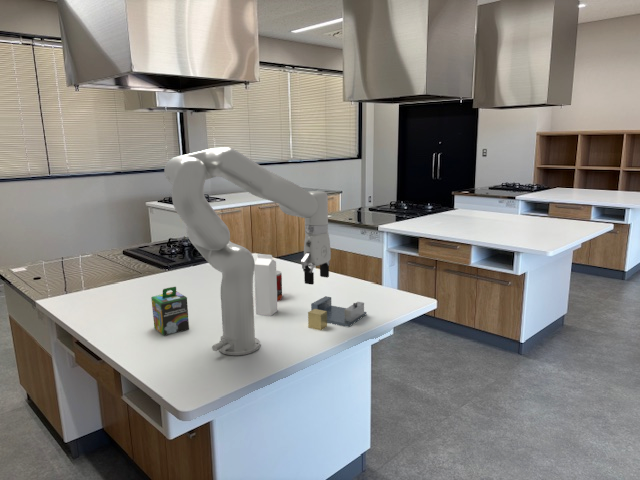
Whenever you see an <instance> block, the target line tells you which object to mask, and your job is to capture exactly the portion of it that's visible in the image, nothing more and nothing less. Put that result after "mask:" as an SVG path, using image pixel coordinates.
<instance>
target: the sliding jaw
mask: <svg viewBox="0 0 640 480" xmlns="http://www.w3.org/2000/svg"><path fill="white" fill-rule="evenodd" d="M364 312H365V302H362V301H357V302H356V301H355V302H353V304H352V305H350V306H348V307H347V309H345V321H348V322H352V321H353V320H355V319H356V318H358V317H359V316H361V315H362V314H364Z"/></svg>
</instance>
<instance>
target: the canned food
mask: <svg viewBox="0 0 640 480" xmlns="http://www.w3.org/2000/svg"><path fill="white" fill-rule="evenodd" d="M276 277H277V302H279V301H281V300H282V298H283V275H282V271H280V270H277V269H276Z"/></svg>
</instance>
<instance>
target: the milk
mask: <svg viewBox="0 0 640 480" xmlns="http://www.w3.org/2000/svg"><path fill="white" fill-rule="evenodd" d="M254 262H255V268H254V275H253V277H254V297H255V298H254V300H255V314H256V315H260V316H268V317H269V316H270V317H272V315H274V314H276V313H277V312H278V301H277V277H276V270H277V261H276V260H274V259H273V254H264V253H258V254H257V258H256V260H255V261H254Z"/></svg>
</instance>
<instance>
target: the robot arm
mask: <svg viewBox="0 0 640 480" xmlns="http://www.w3.org/2000/svg"><path fill="white" fill-rule="evenodd" d="M164 175H165V179H166V180H167V182H169V184H171V185H172V187H171V199H172V200H171V201H172V204H173V207H174V209H175V212H176V213H177V215H178V216H179V218H180V219H181V220H182V221H183V223H184V224H185V226H186V235H187V238H188V240H189V241H190V243H191V244H192V246H193V247H194V248H195V249H196V250H197V251H198V252H199V254H200V255H201V256H202V257H203V258H204V260H206V262H207V264H209V265H210V266H211V267H212V268H214V270H217V272H219V273H221V274H222V276H221V281H220V306H221V325H222V336H220V340H219V342H216V343H215V344H213V345H212V346H211V349H212V351H213V352H218V351H219V352H220V353H221V354H224V355H227V356H244V355H248V354H252V353H254V352H256V351H257V350H259V348H260V347H261V340H260V339H259V338H257V337H256V334H255V333H256V332H255V330H256V329H255V309H254V308H255V305H254V287H253V286H254V268H255V262H256V261H255V259H254V255H253V253H252V252H251V251H250V250H249V249H248V248H246V247H244V246H242V245H239V244H237V243H234V242H232V241H231V233H230V229H229V227H228V225H227V224H226V223H225V222H224V221H223V219H222V218H221V216H219V215H218V214H217V212H216V210H214V209H213V207H212V206H211V204H210V203H209V202H208V200H207V199H206V196H205V192H204V191H205V189H204V188H205V183H206V181H207V180H210V179H214V178H216V177H220V178H223V179H225V180H227V181H228V182H230V183H232V184H233V185H235V186H237V187H239V188H240V189H242V190H245V192H248V194H251V195H253V196H255V197H257V198H260V199H262V200H263V199H264V200H267V201H270V202H273V203H276V204H278V207H279V209H280V211H282V213H284V214H285V215H288V216H292V217H298V218H303V219H304V234H305V235H304V242H303V244H304V245H303V257H302V259H301V260H300V264H301V269H302V270H303V273H304V275H303V276H304V284H306V285H314V283H315V281H314V280H315V279H314V278H315V276H314V275H315V273H314V272H313V271H314V269H315V267H318V266H319V276H320V277H321V278H326V279H327V278H329V276H330V262H331V258H332V256H331V255H332V251H331V240H330V234H329V209H328V208H329V206H328V205H329V203H328V202H329V197H328V193H327V192H325V191H322V190H313V191H312V190H311V191H307V190H306V189H304V188H303V187H301V186H300V185H298V184H297V183H294V182H292V181H290V180H288V179H286V178H284V177H282V176H280V175H278V174H277V173H274V172H273V171H270V170H269V169H267V168H265V167H264V166H262V165H260V164H258V163H257V162H255V161H254V160H252V159H250V158H249V157H248V156H246V155H245V154H243V153H241V152H240V151H238V150H236V149H234V148H233V147H228V146H223V147H220V146H219V147H211V148H208V149H203V150H201V151H195V152H192V153H191V152H190V153H187V154H183V155H178V156H174V157H172V158H170V159H169V160H167V162H166V164H165V165H164Z"/></svg>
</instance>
